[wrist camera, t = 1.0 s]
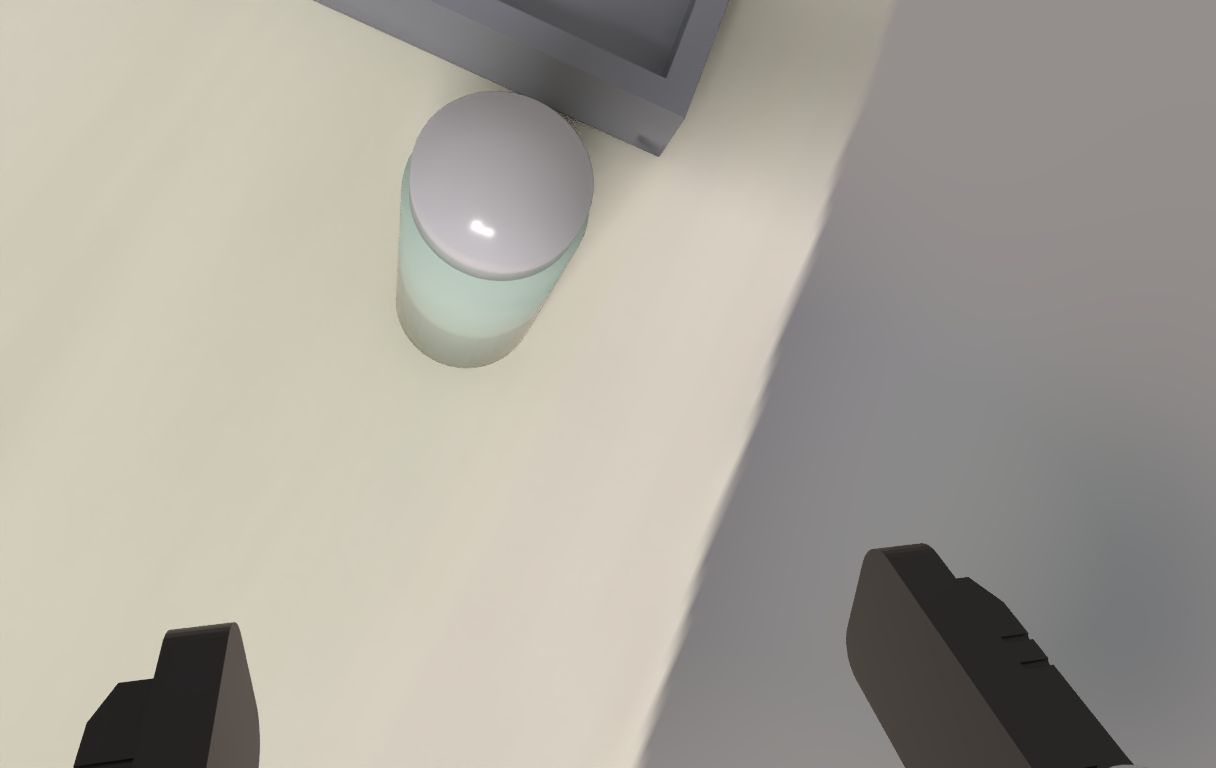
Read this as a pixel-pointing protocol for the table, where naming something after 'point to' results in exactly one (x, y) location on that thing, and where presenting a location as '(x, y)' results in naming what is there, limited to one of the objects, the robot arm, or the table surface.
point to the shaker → (487, 224)
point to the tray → (569, 53)
